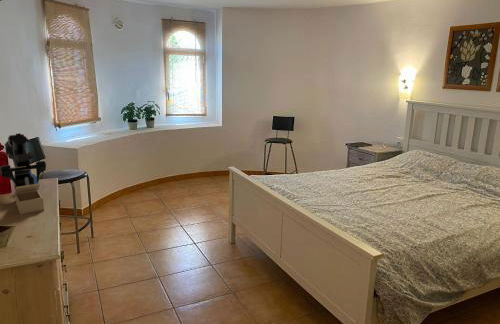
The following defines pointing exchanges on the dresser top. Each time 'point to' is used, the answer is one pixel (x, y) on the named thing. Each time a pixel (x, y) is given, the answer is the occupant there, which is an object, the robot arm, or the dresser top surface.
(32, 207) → the carton
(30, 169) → the perfume bottle
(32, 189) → the carton lid
